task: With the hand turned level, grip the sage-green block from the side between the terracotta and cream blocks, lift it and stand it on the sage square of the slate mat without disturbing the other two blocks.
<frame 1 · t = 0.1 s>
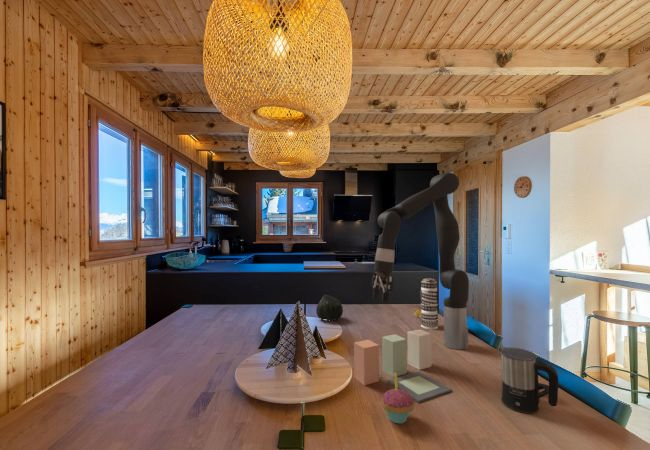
hand: (380, 300, 126), 22 cm above the table, tool pointing down, fingers open, 8 cm apart
slate mat: (418, 386, 100), on the table
squash: (329, 320, 176), on the table
milk frother: (526, 401, 92), on the table
terracotta block: (366, 379, 105), on the table
cream block: (419, 365, 116), on the table
cupcake: (398, 419, 83), on the table
sage block: (394, 371, 111), on the table
decorative candle: (429, 327, 162), on the table
bread roll: (422, 317, 181), on the table
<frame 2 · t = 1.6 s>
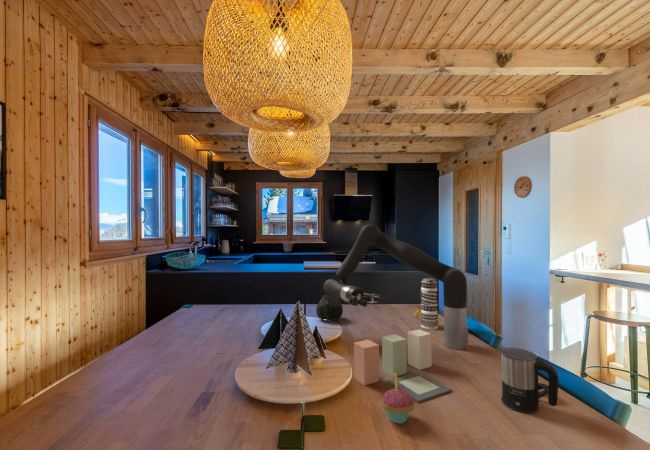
hand: (375, 302, 121), 22 cm above the table, tool horizontal, fingers open, 8 cm apart
nothing on the table moved.
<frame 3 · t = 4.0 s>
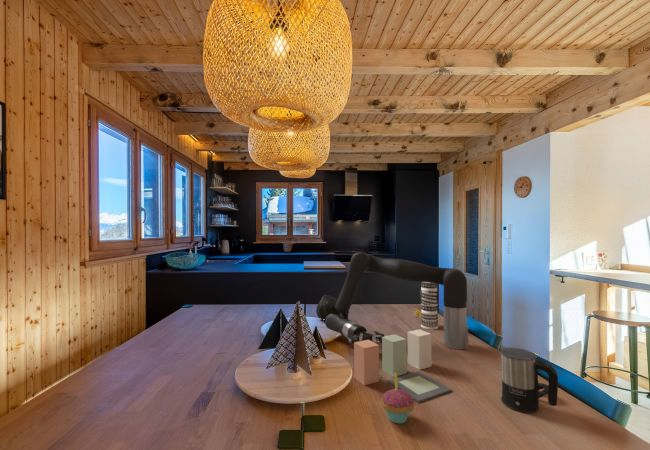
hand: (377, 344, 120), 7 cm above the table, tool horizontal, fingers open, 8 cm apart
nothing on the table moved.
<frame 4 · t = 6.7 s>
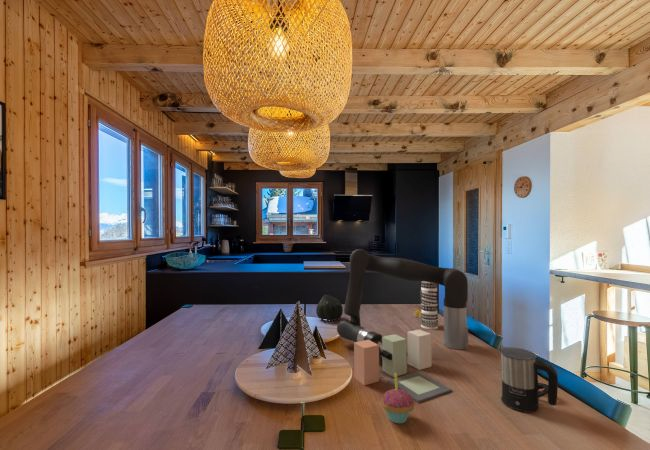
hand: (398, 355, 109), 7 cm above the table, tool horizontal, fingers closed on sage block, 6 cm apart
sage block: (394, 371, 111), on the table, touching gripper
everything else where it was.
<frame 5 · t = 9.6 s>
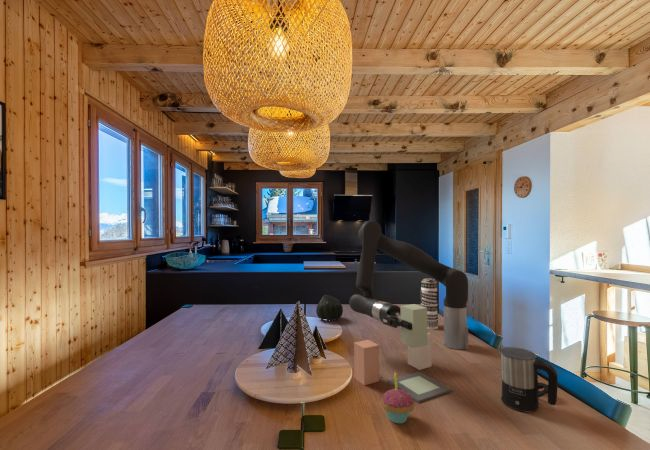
hand: (419, 325, 100), 20 cm above the table, tool horizontal, fingers closed on sage block, 6 cm apart
sage block: (414, 343, 102), point 13 cm above the table, touching gripper
everything else where it was.
when the fingers open (9 cm above the table, at t = 12.5 s): sage block drops 1 cm, resting on slate mat.
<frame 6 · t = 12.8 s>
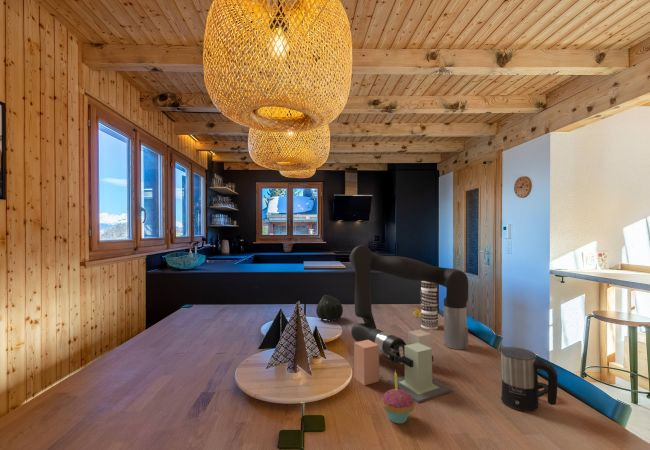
hand: (422, 361, 99), 9 cm above the table, tool horizontal, fingers open, 8 cm apart
sage block: (418, 384, 100), point 1 cm above the table, touching slate mat
everything else where it was.
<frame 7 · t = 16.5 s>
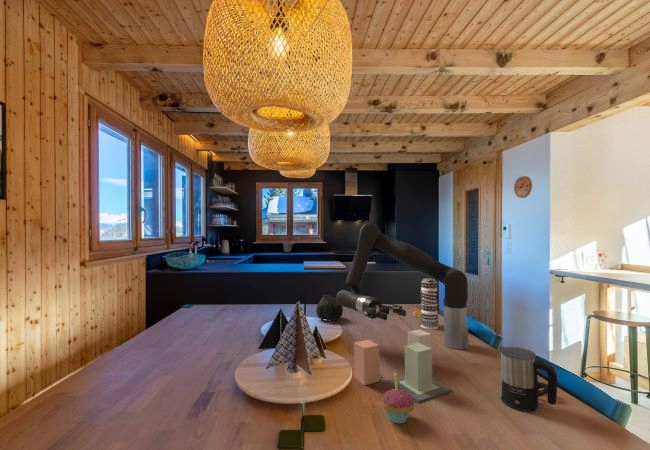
hand: (396, 315, 110), 20 cm above the table, tool horizontal, fingers open, 8 cm apart
nothing on the table moved.
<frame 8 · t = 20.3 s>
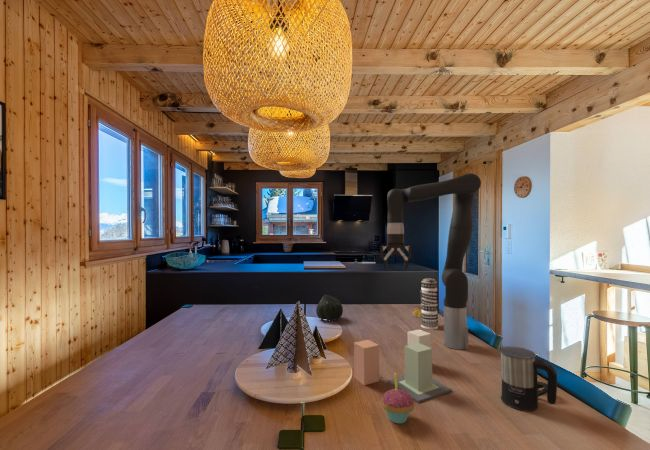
hand: (395, 268, 141), 33 cm above the table, tool pointing down, fingers open, 8 cm apart
at the end: sage block 0.1 cm from the target spot, point 0.6 cm above the table; sage block tilted 0°; terracotta block moved 0.0 cm from its start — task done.
